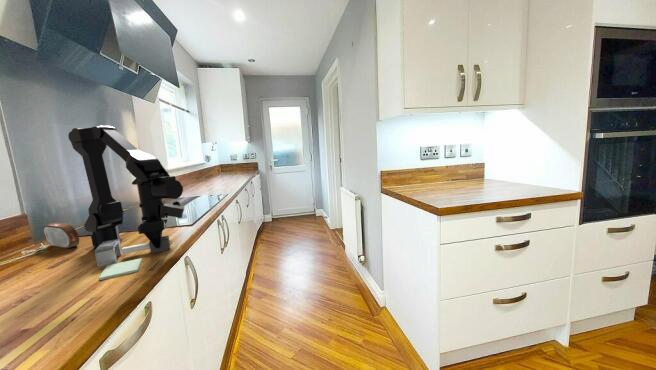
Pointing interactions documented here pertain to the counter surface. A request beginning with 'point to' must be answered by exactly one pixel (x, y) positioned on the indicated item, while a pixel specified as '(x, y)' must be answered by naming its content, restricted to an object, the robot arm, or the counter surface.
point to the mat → (120, 269)
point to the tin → (61, 235)
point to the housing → (108, 252)
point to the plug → (149, 246)
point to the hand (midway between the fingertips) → (158, 245)
